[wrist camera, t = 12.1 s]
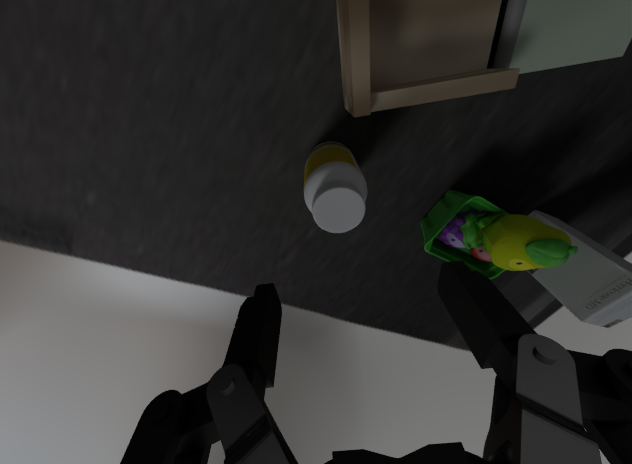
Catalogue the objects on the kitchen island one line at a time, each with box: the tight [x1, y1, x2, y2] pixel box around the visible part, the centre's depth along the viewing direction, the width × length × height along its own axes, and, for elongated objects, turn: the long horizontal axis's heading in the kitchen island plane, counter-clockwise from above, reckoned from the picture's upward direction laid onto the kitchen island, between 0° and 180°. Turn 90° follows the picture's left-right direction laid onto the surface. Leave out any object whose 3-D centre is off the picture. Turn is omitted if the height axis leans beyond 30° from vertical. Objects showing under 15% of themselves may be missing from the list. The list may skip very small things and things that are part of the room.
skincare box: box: [527, 210, 632, 328], centre depth 26 cm, size 6×4×12 cm
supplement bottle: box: [304, 142, 367, 233], centre depth 21 cm, size 5×5×10 cm
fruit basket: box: [421, 190, 578, 279], centre depth 25 cm, size 11×9×11 cm
